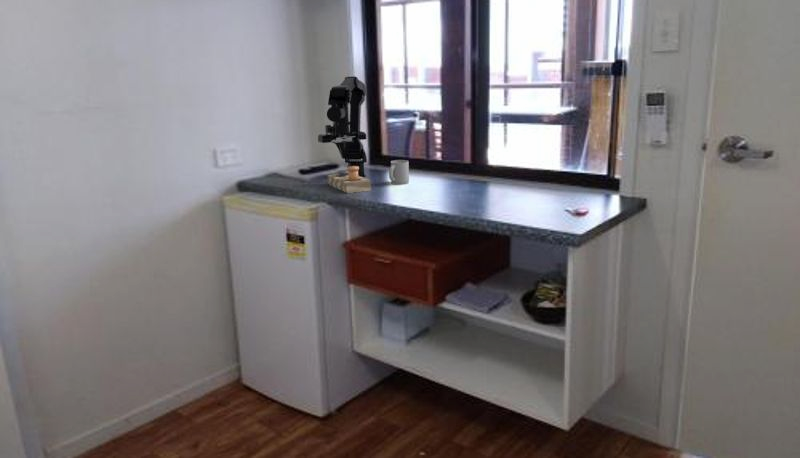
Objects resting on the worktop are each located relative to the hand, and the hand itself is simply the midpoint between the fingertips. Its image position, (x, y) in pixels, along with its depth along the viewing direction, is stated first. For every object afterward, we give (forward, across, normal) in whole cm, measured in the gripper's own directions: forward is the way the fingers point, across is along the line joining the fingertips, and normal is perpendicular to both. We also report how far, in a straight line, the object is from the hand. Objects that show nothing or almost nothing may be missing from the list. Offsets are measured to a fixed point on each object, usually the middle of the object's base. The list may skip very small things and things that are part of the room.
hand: (343, 158), depth 249 cm
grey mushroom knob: (+11, 0, -1) cm, 11 cm away
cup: (+11, -20, +8) cm, 24 cm away
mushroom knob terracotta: (+8, 0, +9) cm, 12 cm away
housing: (+11, 0, +4) cm, 12 cm away
